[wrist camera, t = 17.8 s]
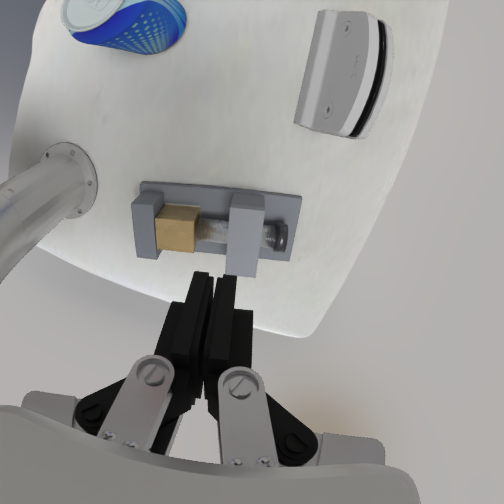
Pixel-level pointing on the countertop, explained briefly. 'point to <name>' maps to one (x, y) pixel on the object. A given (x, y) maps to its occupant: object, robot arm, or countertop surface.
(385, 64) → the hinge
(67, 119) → the countertop surface
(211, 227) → the shaft
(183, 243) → the block
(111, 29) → the beer can
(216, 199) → the grey u-shaped stand
